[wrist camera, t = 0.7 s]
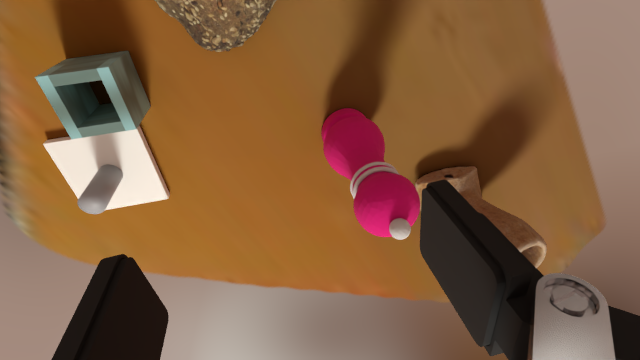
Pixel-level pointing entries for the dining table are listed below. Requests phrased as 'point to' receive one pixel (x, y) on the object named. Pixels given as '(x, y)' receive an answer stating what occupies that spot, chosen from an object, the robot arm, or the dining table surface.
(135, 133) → the shaft base
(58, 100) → the collar
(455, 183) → the beige hollow piece
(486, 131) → the dining table surface
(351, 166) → the pepper mill
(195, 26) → the bread roll
